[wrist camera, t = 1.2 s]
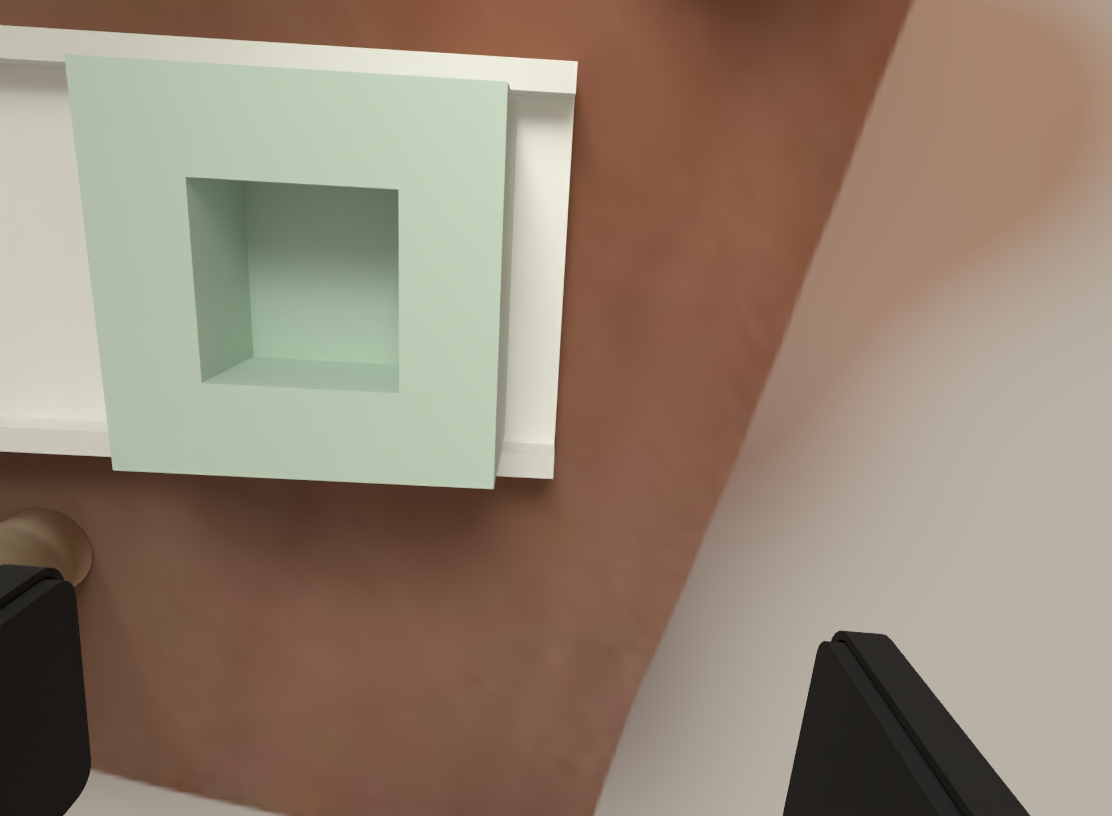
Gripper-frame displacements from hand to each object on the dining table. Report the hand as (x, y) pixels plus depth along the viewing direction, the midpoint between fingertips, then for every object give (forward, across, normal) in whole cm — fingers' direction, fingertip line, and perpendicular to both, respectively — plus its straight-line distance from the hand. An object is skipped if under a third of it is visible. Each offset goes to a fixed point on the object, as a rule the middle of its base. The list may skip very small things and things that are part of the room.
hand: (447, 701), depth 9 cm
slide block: (+20, +7, -3) cm, 21 cm away
